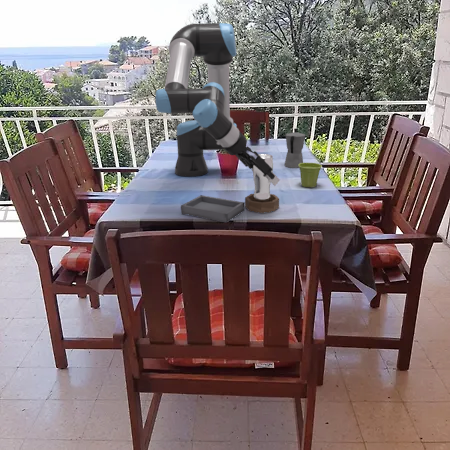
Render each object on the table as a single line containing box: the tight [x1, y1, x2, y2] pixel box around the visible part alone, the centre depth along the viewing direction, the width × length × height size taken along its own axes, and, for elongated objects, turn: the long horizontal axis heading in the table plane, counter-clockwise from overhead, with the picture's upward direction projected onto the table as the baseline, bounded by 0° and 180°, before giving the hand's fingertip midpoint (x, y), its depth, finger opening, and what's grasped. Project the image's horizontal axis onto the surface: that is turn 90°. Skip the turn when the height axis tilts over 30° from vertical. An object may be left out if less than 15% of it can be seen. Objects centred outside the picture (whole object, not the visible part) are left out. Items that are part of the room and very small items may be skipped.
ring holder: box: [244, 193, 280, 214], centre depth 155 cm, size 11×11×4 cm
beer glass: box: [252, 153, 274, 200], centre depth 151 cm, size 7×7×15 cm
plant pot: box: [298, 162, 323, 188], centre depth 177 cm, size 9×9×9 cm
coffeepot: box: [284, 128, 306, 169], centre depth 205 cm, size 15×9×18 cm, turn 161°
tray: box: [180, 194, 245, 223], centre depth 151 cm, size 18×13×3 cm
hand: (270, 179), depth 153 cm, fingers closed on beer glass, 7 cm apart
